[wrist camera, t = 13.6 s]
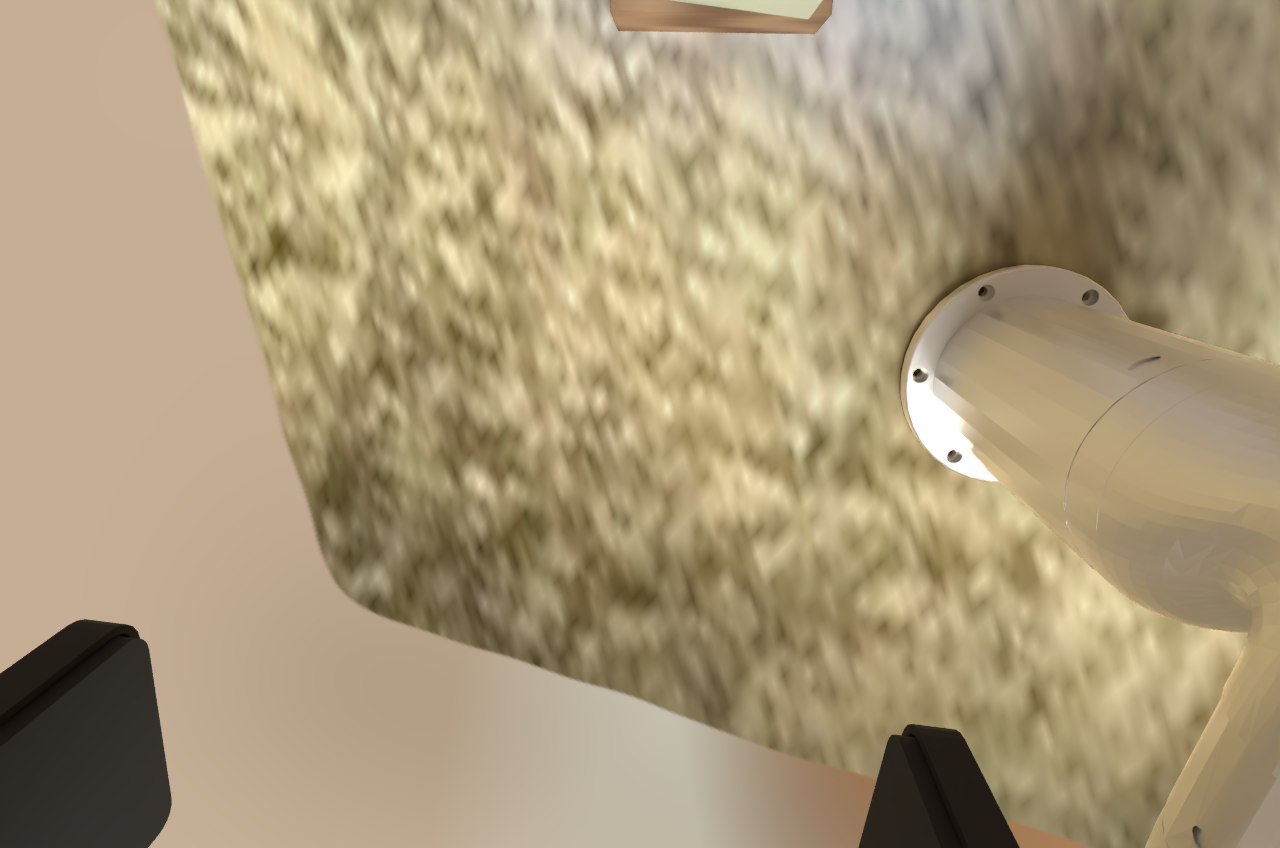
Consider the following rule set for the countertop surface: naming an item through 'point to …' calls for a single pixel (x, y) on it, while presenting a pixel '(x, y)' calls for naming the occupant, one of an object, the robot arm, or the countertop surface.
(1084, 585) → the countertop surface
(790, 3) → the tower top
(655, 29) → the tower bottom
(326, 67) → the countertop surface
